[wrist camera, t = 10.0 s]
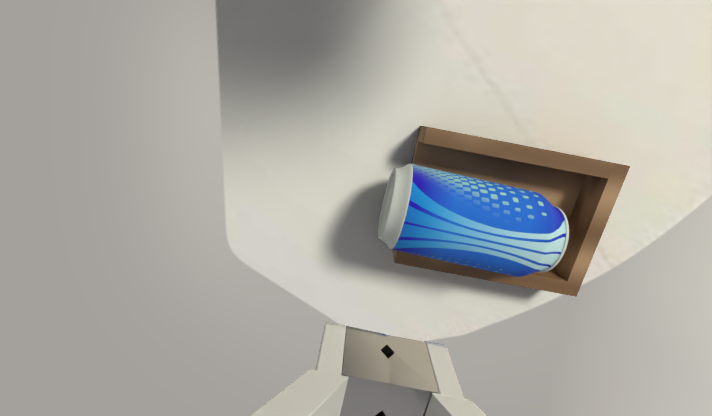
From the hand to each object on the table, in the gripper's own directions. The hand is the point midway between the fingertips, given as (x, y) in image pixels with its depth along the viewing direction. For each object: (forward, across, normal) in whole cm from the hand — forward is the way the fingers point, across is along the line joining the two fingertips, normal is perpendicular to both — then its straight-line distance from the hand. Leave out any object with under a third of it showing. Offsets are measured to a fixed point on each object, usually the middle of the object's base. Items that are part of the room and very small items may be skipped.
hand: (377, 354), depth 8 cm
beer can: (+24, -2, +2) cm, 24 cm away
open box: (+29, -13, +2) cm, 32 cm away
